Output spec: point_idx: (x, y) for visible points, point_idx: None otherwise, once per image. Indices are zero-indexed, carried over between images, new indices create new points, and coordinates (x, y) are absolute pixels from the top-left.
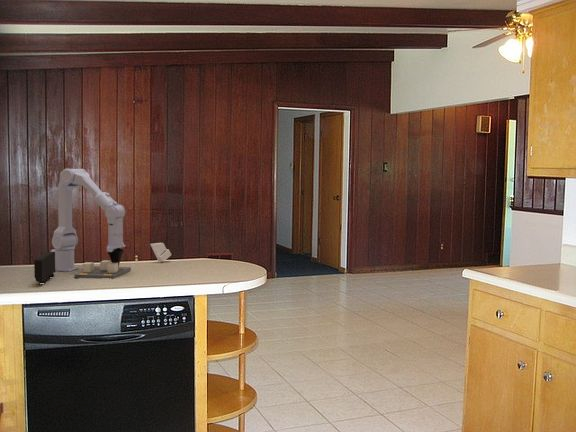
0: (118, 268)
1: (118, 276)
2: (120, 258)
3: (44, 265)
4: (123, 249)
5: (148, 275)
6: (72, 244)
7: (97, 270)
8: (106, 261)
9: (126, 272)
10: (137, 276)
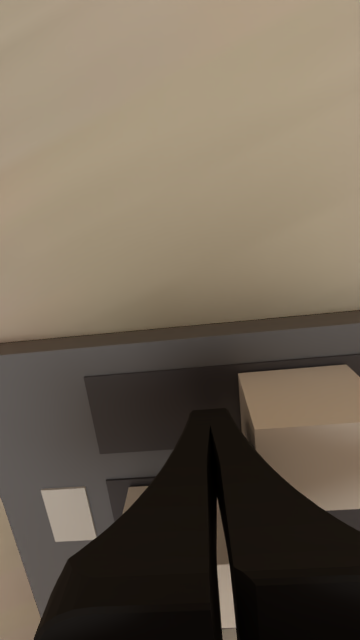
0: (71, 438)
1: (329, 314)
2: (170, 466)
3: None
4: (87, 616)
5: (163, 14)
6: None
7: None
8: None
9: (97, 335)
10: (254, 130)
